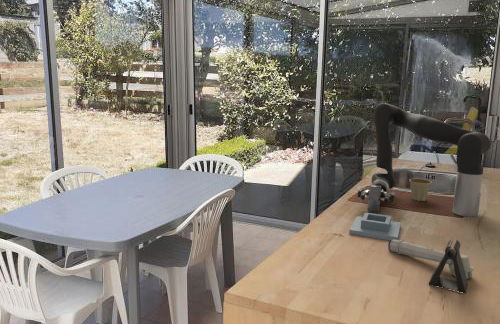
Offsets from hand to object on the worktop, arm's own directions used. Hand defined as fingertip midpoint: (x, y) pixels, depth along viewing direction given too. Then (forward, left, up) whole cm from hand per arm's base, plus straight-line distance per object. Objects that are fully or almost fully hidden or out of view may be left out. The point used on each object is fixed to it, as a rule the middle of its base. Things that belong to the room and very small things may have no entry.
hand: (374, 199), depth 169 cm
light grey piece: (-21, +38, -7) cm, 44 cm away
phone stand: (-26, +51, -7) cm, 57 cm away
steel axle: (0, 0, -7) cm, 7 cm away
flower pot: (-16, -32, -7) cm, 37 cm away
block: (-3, +17, -7) cm, 18 cm away
